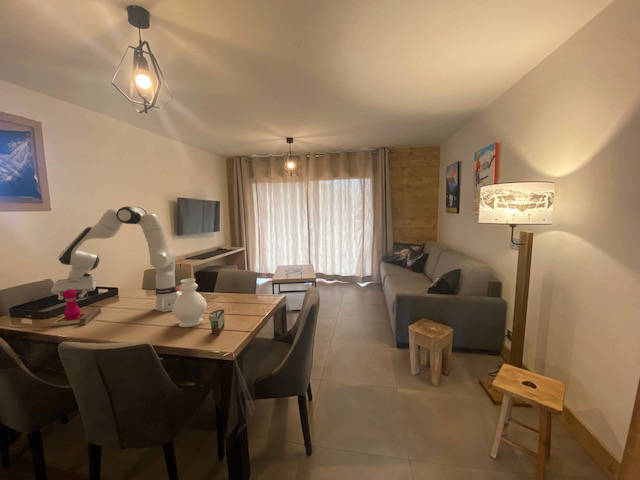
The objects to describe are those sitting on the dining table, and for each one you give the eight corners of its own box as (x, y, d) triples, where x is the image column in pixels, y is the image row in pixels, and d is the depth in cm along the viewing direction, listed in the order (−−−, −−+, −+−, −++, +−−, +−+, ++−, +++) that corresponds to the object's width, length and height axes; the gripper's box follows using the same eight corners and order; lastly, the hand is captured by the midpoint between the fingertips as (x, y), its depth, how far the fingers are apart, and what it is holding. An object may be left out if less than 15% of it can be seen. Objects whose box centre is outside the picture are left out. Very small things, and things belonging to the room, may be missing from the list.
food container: (213, 326, 143) (212, 309, 142) (225, 326, 144) (224, 308, 143) (206, 337, 131) (204, 318, 130) (218, 336, 131) (217, 317, 130)
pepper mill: (71, 322, 150) (67, 289, 148) (61, 321, 151) (57, 288, 149) (84, 317, 157) (81, 285, 155) (75, 317, 158) (71, 285, 156)
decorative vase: (202, 327, 142) (200, 283, 140) (167, 330, 139) (164, 285, 137) (211, 315, 160) (208, 275, 157) (180, 317, 157) (177, 277, 154)
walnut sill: (101, 312, 167) (100, 306, 166) (85, 325, 148) (84, 318, 147) (96, 313, 166) (96, 307, 165) (80, 325, 147) (79, 319, 147)
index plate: (91, 315, 162) (91, 311, 162) (80, 323, 150) (80, 319, 150) (65, 318, 158) (64, 315, 157) (51, 327, 145) (51, 323, 145)
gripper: (53, 277, 155) (44, 298, 147) (95, 274, 162) (89, 293, 154) (58, 282, 160) (50, 303, 151) (99, 279, 167) (93, 298, 158)
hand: (70, 298), depth 153 cm, fingers open, 8 cm apart
